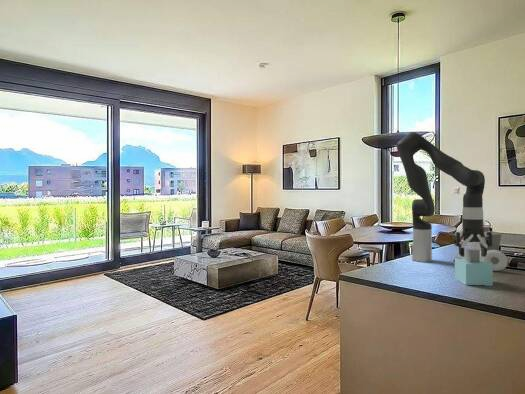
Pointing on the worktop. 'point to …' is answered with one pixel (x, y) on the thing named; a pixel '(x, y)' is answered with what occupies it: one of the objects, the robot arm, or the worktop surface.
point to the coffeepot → (493, 244)
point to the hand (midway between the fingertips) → (472, 256)
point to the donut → (501, 258)
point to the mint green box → (474, 269)
